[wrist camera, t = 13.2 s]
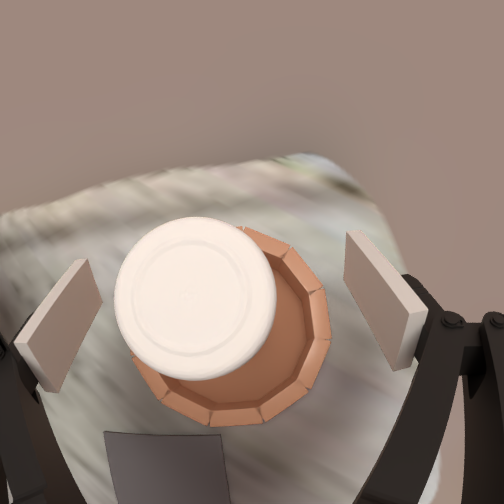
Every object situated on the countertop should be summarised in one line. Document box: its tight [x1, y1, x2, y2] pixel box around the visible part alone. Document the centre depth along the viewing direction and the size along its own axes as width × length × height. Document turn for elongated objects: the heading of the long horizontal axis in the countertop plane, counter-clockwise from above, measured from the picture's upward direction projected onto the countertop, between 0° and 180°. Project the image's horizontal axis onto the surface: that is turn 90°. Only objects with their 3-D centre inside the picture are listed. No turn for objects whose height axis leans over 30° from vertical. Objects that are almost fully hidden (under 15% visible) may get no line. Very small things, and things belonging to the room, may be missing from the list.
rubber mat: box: [103, 431, 230, 504], centre depth 17 cm, size 9×9×1 cm
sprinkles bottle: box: [114, 217, 277, 381], centre depth 14 cm, size 5×5×14 cm
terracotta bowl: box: [130, 226, 332, 427], centre depth 20 cm, size 12×12×4 cm
